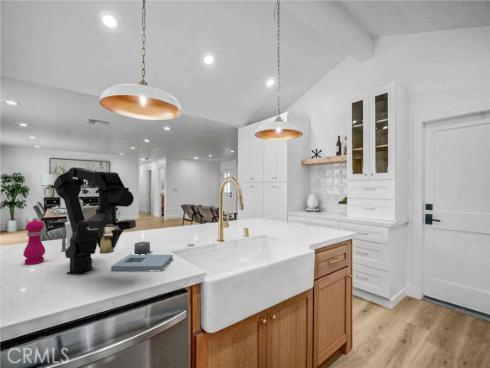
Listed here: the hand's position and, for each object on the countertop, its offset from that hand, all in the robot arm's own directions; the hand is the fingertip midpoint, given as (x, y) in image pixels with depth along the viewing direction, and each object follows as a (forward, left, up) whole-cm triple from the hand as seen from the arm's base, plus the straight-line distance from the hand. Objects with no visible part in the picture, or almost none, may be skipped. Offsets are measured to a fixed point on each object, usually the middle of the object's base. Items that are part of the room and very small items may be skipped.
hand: (107, 247), depth 89 cm
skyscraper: (-39, +40, -12) cm, 57 cm away
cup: (-21, +17, -11) cm, 29 cm away
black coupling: (0, +33, -11) cm, 35 cm away
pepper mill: (-41, +18, -11) cm, 46 cm away
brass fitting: (0, 0, -2) cm, 2 cm away
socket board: (+8, +15, -11) cm, 20 cm away
